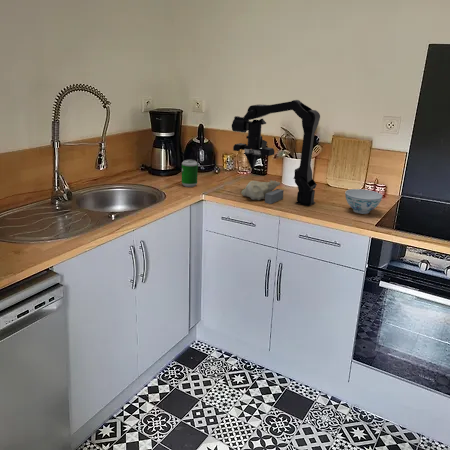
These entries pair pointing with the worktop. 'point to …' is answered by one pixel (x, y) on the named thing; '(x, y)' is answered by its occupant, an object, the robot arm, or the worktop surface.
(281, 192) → the bar
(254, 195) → the grey lumpy stone
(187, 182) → the soda can
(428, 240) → the worktop surface
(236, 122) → the robot arm
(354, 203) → the chinaware
